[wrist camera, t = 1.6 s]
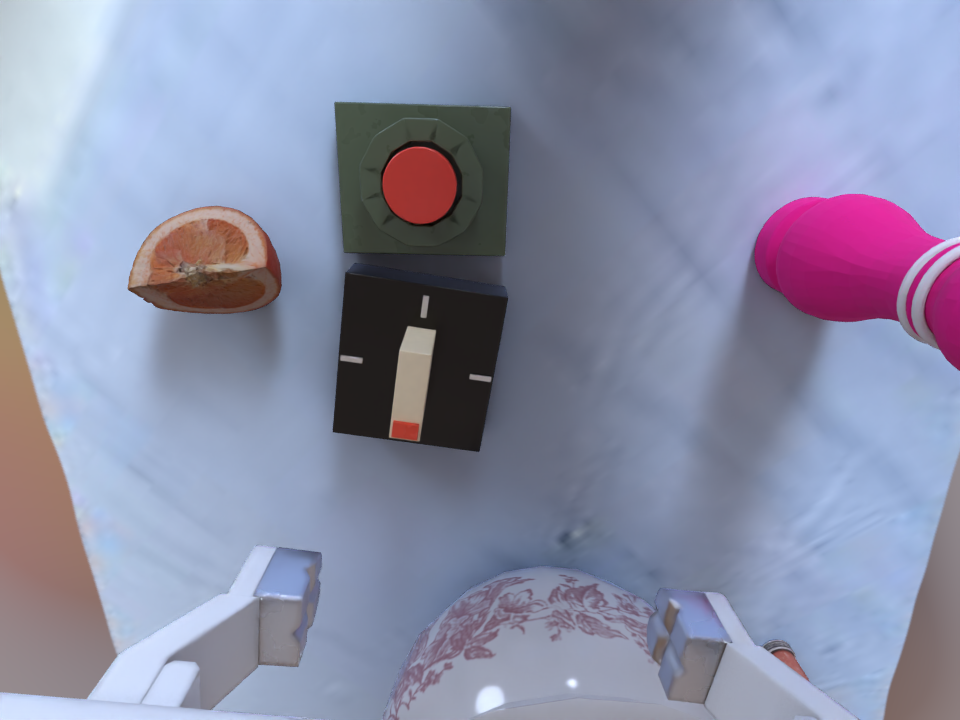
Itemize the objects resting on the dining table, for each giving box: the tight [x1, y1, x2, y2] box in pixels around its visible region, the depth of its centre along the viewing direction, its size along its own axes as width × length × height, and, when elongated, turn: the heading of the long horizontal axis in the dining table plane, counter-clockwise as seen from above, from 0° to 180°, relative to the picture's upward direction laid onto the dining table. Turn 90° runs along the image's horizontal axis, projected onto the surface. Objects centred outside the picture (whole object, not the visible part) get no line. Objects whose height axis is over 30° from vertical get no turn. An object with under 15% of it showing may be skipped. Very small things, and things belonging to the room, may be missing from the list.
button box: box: [335, 102, 511, 256], centre depth 33 cm, size 10×8×4 cm
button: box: [383, 147, 457, 224], centre depth 31 cm, size 4×4×2 cm
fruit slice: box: [128, 206, 282, 314], centre depth 34 cm, size 8×7×5 cm
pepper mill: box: [755, 194, 960, 371], centre depth 27 cm, size 7×7×20 cm
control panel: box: [333, 263, 508, 452], centre depth 37 cm, size 11×10×3 cm
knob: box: [389, 326, 436, 442], centre depth 34 cm, size 6×2×5 cm, turn 171°
